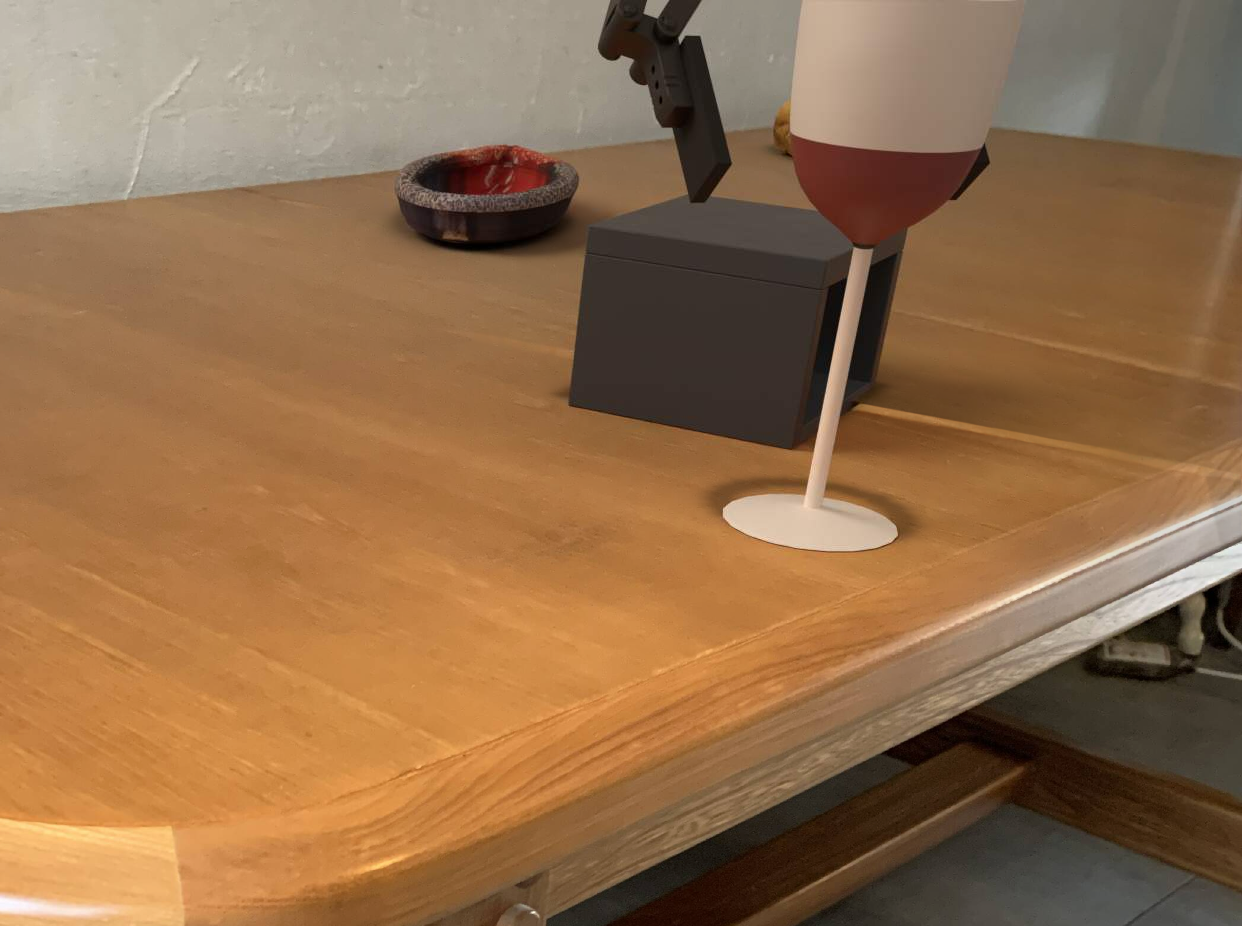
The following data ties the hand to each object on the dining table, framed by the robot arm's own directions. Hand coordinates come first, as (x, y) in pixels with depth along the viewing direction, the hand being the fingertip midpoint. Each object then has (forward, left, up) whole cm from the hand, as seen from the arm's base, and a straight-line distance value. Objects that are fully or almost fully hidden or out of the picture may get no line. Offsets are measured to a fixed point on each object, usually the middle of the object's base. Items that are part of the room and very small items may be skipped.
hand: (841, 184), depth 78 cm
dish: (+49, -59, -15) cm, 78 cm away
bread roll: (+42, -125, -15) cm, 133 cm away
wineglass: (-2, +2, -15) cm, 16 cm away
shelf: (+10, -17, -15) cm, 25 cm away
